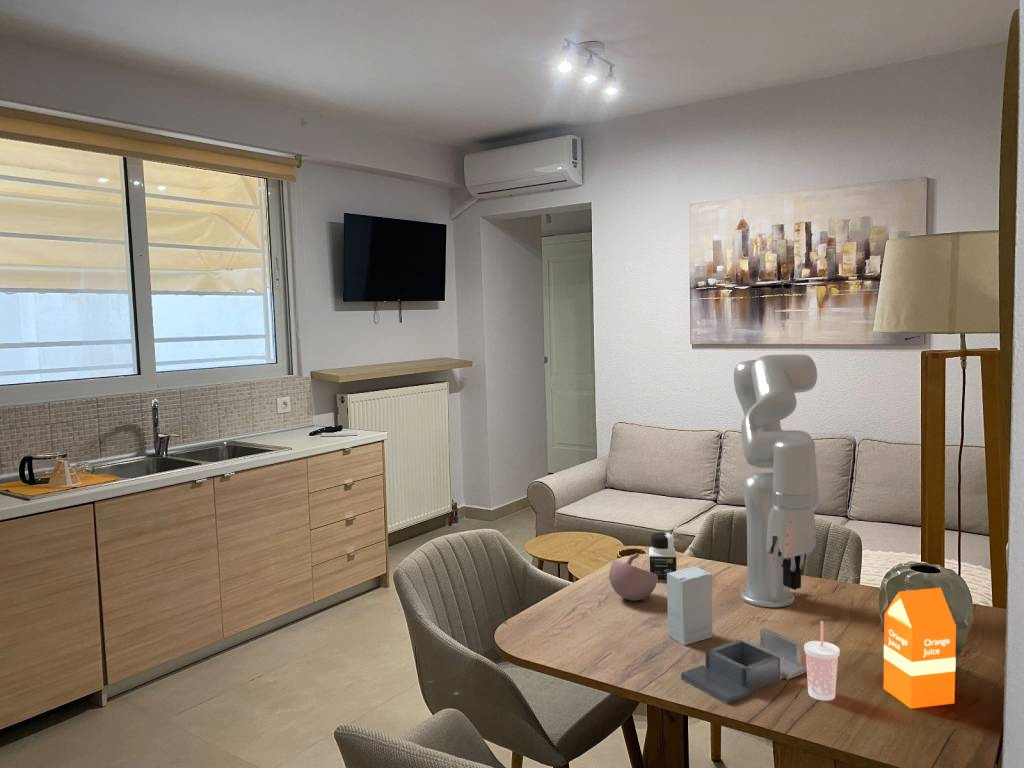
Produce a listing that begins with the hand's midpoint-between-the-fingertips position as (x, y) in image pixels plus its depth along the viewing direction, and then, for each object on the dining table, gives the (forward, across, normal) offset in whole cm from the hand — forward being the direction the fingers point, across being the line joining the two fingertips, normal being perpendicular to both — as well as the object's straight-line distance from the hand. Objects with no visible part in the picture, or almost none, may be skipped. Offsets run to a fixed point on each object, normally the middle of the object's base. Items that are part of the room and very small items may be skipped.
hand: (791, 586), depth 154 cm
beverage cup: (+14, +9, +14) cm, 22 cm away
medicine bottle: (+17, -11, -51) cm, 55 cm away
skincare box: (+15, +11, -18) cm, 26 cm away
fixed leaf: (+14, +19, +1) cm, 24 cm away
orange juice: (+14, -5, +24) cm, 28 cm away
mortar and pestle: (+16, +6, -43) cm, 46 cm away
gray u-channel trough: (+14, +8, +1) cm, 16 cm away
